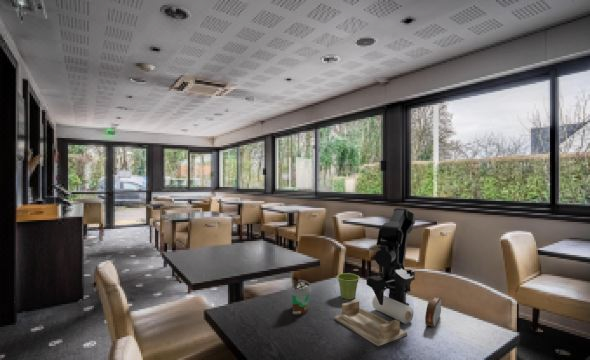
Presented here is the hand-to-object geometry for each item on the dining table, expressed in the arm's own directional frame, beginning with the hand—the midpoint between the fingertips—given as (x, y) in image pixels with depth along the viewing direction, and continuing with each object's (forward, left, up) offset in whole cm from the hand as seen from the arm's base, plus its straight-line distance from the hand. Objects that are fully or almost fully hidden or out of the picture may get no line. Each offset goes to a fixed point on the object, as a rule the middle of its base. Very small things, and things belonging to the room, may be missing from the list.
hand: (390, 302), depth 114 cm
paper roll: (0, 0, -5) cm, 5 cm away
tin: (-10, +11, -5) cm, 16 cm away
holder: (+13, +2, -5) cm, 14 cm away
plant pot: (+1, -22, -5) cm, 23 cm away
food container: (+25, -20, -5) cm, 32 cm away
